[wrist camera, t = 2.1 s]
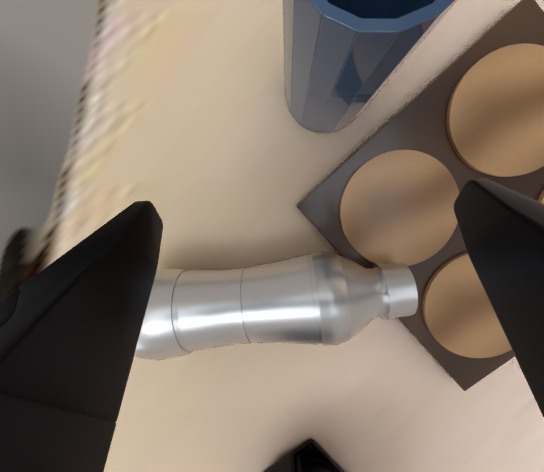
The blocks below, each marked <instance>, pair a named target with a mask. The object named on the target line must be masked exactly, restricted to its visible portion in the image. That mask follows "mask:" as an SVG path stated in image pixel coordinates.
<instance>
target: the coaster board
mask: <svg viewBox="0 0 544 472" xmlns="http://www.w3.org/2000/svg"><path fill="white" fill-rule="evenodd" d="M480 178H485V179H489V180H491V181H493V182H496V183H498V184H500V185H502V186H505V187H507V188H509V189H511V190H514V191H516V192H518V193H520V194H522V195H525V196H527V197H529V198H531V199H534V200H536V201H538V202H540V203H543V204H544V12H543V10H542V9H541V8H540V7H539V5H538V4H537V3H536V1H535V0H521V1H520V2H518V3H517V4H516V5H515V6H514V7H512V8H511V9H510V10H509V11H508V12H507V13H506V14H505V15H504V16H502V17H501V18H500V19H499V20H498V21H497V22H496V23H495V24H494V25H493V26H491V27H490V28H489V29H488V30H487V31H486V32H485V33H484V34H483V35H482V36H481V37H479V38H478V39H477V40H476V41H475V42H474V43H473V44H472V45H471V46H470V47H468V48H467V49H466V50H465V51H464V52H463V53H462V54H461V55H460V56H459V57H458V58H456V59H455V60H454V61H453V62H452V63H451V64H450V65H449V66H448V67H447V68H445V69H444V70H443V71H442V72H441V73H440V74H439V75H438V76H437V77H436V78H435V79H433V80H432V81H431V82H430V83H429V84H428V85H427V86H426V87H425V88H424V89H422V90H421V91H420V92H419V93H418V94H417V95H416V96H415V97H414V98H413V99H412V100H410V101H409V102H408V103H407V104H406V105H405V106H404V107H403V108H402V109H401V110H399V111H398V112H397V113H396V114H395V115H394V116H393V117H392V118H391V119H390V120H389V121H387V122H386V123H385V124H384V125H383V126H382V127H381V128H380V129H379V130H378V131H376V132H375V133H374V134H373V135H372V136H371V137H370V138H369V139H368V140H367V141H366V142H364V143H363V144H362V145H361V146H360V147H359V148H358V149H357V150H356V151H355V152H353V153H352V154H351V155H350V156H349V157H348V158H347V159H346V160H345V161H344V162H343V163H341V164H340V165H339V166H338V167H337V168H336V169H335V170H334V171H333V172H332V173H330V174H329V175H328V176H327V177H326V178H325V179H324V180H323V181H322V182H321V183H320V184H318V185H317V186H316V187H315V188H314V189H313V190H312V191H311V192H310V193H309V194H307V195H306V196H305V197H304V198H303V199H302V200H301V201H300V202H299V203H298V204H297V205H296V206H297V207H298V208H299V209H300V210H301V212H302V213H303V214H304V215H305V216H306V217H307V218H308V219H309V220H310V221H311V223H312V224H313V225H314V226H315V227H316V228H317V229H318V230H319V231H320V232H321V234H322V235H323V236H324V237H325V238H326V239H327V240H328V241H329V242H330V244H331V245H332V246H333V247H334V248H335V249H336V250H337V251H338V252H339V253H340V255H341V256H343V257H345V258H347V259H350V260H352V261H353V262H355V263H357V264H359V265H361V266H363V267H364V268H369V269H372V266H373V265H374V264H378V263H383V264H390V263H398V262H399V263H404V264H406V265H407V266H408V267H409V269H410V270H411V272H412V274H413V277H414V280H415V283H416V287H417V293H418V307H417V311H416V313H415V314H414V315H411V316H405V317H398V319H399V320H400V321H401V322H402V323H403V324H404V325H405V326H406V327H407V329H408V330H409V331H410V332H411V333H412V334H413V335H414V336H415V337H416V338H417V340H418V341H419V342H420V343H421V344H422V345H423V346H424V347H425V348H426V349H427V351H428V352H429V353H430V354H431V355H432V356H433V357H434V358H435V359H436V361H437V362H438V363H439V364H440V365H441V366H442V367H443V368H444V369H445V370H446V372H447V373H448V374H449V375H450V376H451V377H452V378H453V379H454V380H455V381H456V383H457V384H458V385H459V386H460V387H461V388H462V389H463V390H464V391H466V390H467V389H468V388H470V387H471V386H473V385H474V384H476V383H477V382H479V381H480V380H481V379H483V378H484V377H486V376H487V375H489V374H490V373H491V372H493V371H494V370H496V369H497V368H499V367H500V366H501V365H503V364H504V363H506V362H507V361H509V360H510V359H512V358H513V357H514V356H515V355H514V353H513V350H512V348H511V346H510V344H509V342H508V340H507V338H506V335H505V333H504V331H503V329H502V327H501V325H500V322H499V320H498V318H497V316H496V314H495V312H494V310H493V307H492V305H491V303H490V301H489V299H488V297H487V295H486V292H485V290H484V288H483V286H482V284H481V282H480V280H479V277H478V275H477V273H476V271H475V269H474V267H473V264H472V262H471V260H470V258H469V255H468V252H467V250H466V247H465V244H464V241H463V238H462V234H461V231H460V228H459V225H458V222H457V219H456V216H455V213H454V202H455V200H456V198H457V196H458V195H459V193H460V191H461V189H462V188H463V186H464V184H465V183H466V182H467V181H468V180H470V179H480Z"/></svg>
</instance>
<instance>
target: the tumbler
mask: <svg viewBox="0 0 544 472" xmlns="http://www.w3.org/2000/svg"><path fill="white" fill-rule="evenodd" d="M457 1H458V0H283V33H284V74H285V96H286V102H287V106H288V108H289V111H290V113H291V114H292V116H293V117H294V119H295V120H296V121H297V122H298V123H299V124H300V125H301V126H303V127H304V128H306V129H308V130H310V131H313V132H318V133H330V132H335V131H338V130H340V129H342V128H344V127H346V126H347V125H348V124H350V123H351V122H352V121H353V120H354V119H355V118H356V117H357V116H358V115H359V114H360V113H361V112H362V111H363V109H364V108H365V107H366V106H367V105H368V104H369V103H370V101H371V100H372V99H373V98H374V97H375V96H376V94H377V93H378V92H379V91H380V90H381V89H382V87H383V86H384V85H385V84H386V83H387V82H388V81H389V79H390V78H391V77H392V76H393V75H394V74H395V72H396V71H397V70H398V69H399V68H400V67H401V65H402V64H403V63H404V62H405V61H406V60H407V59H408V57H409V56H410V55H411V54H412V53H413V52H414V50H415V49H416V48H417V47H418V46H419V45H420V43H421V42H422V41H423V40H424V39H425V38H426V37H427V35H428V34H429V33H430V32H431V31H432V30H433V28H434V27H435V26H436V25H437V24H438V23H439V21H440V20H441V19H442V18H443V17H444V16H445V14H446V13H447V12H448V11H449V10H450V9H451V8H452V6H453V5H454V4H455V3H456V2H457Z"/></svg>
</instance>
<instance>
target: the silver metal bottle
mask: <svg viewBox="0 0 544 472" xmlns="http://www.w3.org/2000/svg"><path fill="white" fill-rule="evenodd" d="M417 307H418V293H417V287H416V283H415V280H414V277H413V274H412V272H411V270H410V269H409V267H408V266H407V265H406V264H404V263H399V262H398V263H390V264H383V263H378V264H374V265H373V266H372V269H369V268H364V267H363V266H361V265H359V264H357V263H355V262H353V261H352V260H350V259H347V258H345V257H343V256H340V255H338V254H335V253H329V252H323V251H322V252H317V253H311V254H310V255H303V256H299V257H295V258H291V259H287V260H283V261H278V262H274V263H269V264H263V265H256V266H252V267H251V268H246V267H243V268H237V269H220V270H188V269H179V268H157V271H156V275H155V279H154V283H153V287H152V290H151V294H150V298H149V302H148V305H147V309H146V313H145V317H144V320H143V324H142V328H141V332H140V335H139V339H138V343H137V347H136V350H135V354H134V356H135V357H138V358H142V359H152V360H164V359H169V358H174V357H178V356H182V355H186V354H189V353H192V352H193V351H198V350H204V349H210V348H216V347H221V346H227V345H233V344H245V343H253V342H258V343H278V342H280V343H296V344H311V345H318V344H322V345H338V344H341V343H343V342H346V341H348V340H350V339H351V338H352V337H354V336H355V335H356V334H358V333H359V332H360V331H361V330H362V329H363V328H364V327H365V326H366V325H367V324H368V323H369V322H370V321H371V320H372V319H373V318H375V317H377V316H381V318H382V319H383V320H390V319H393V318H395V317H405V316H411V315H414V314H415V313H416V311H417Z"/></svg>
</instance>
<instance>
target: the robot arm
mask: <svg viewBox="0 0 544 472" xmlns="http://www.w3.org/2000/svg"><path fill="white" fill-rule="evenodd" d="M454 213H455V216H456V219H457V222H458V225H459V228H460V231H461V234H462V238H463V241H464V244H465V247H466V250H467V252H468V255H469V258H470V260H471V262H472V264H473V267H474V269H475V271H476V273H477V275H478V277H479V280H480V282H481V284H482V286H483V288H484V290H485V292H486V295H487V297H488V299H489V301H490V303H491V305H492V307H493V310H494V312H495V314H496V316H497V318H498V320H499V322H500V325H501V327H502V329H503V331H504V333H505V335H506V338H507V340H508V342H509V344H510V346H511V348H512V350H513V353H514V355H515V357H516V359H517V361H518V363H519V365H520V368H521V370H522V372H523V374H524V376H525V378H526V380H527V383H528V385H529V387H530V389H531V391H532V393H533V395H534V398H535V400H536V402H537V404H538V406H539V408H540V411H541V413H542V415H543V417H544V204H543V203H540V202H538V201H536V200H534V199H531V198H529V197H527V196H525V195H522V194H520V193H518V192H516V191H514V190H511V189H509V188H507V187H505V186H502V185H500V184H498V183H496V182H493V181H491V180H489V179H485V178H480V179H470V180H468V181H467V182H466V183H465V184H464V186H463V188H462V189H461V191H460V193H459V195H458V196H457V198H456V200H455V202H454ZM162 230H163V223H162V220H161V218H160V216H159V214H158V213H157V211H156V209H155V207H154V205H153V204H152V203H151V202H150V201H137V202H134V203H133V204H132V205H130V206H129V207H127V208H126V209H125V210H123V211H122V212H121V213H119V214H118V215H117V216H115V217H114V218H113V219H111V220H110V221H109V222H107V223H106V224H104V225H103V226H102V227H100V228H99V229H98V230H96V231H95V232H94V233H92V234H91V235H90V236H88V237H87V238H86V239H84V240H83V241H81V242H80V243H79V244H77V245H76V246H75V247H73V248H72V249H71V250H69V251H68V252H67V253H65V254H64V255H63V256H61V257H60V258H58V259H57V260H56V261H54V262H53V263H52V264H50V265H49V266H48V267H46V268H45V269H44V270H42V271H41V272H40V273H38V274H37V275H35V276H34V277H33V278H31V279H30V280H29V281H27V282H26V283H25V284H23V285H22V286H21V288H19V289H16V290H15V291H14V292H12V293H11V294H10V295H8V296H7V297H6V298H4V299H3V300H2V301H0V472H103V471H104V467H105V463H106V460H107V456H108V452H109V448H110V445H111V441H112V437H113V434H114V430H115V426H116V423H115V422H116V421H117V418H118V414H119V410H120V406H121V403H122V399H123V395H124V391H125V388H126V384H127V380H128V376H129V373H130V369H131V365H132V362H133V358H134V354H135V350H136V347H137V343H138V339H139V335H140V332H141V328H142V324H143V320H144V317H145V313H146V309H147V305H148V302H149V298H150V294H151V290H152V287H153V283H154V279H155V275H156V271H157V265H158V259H159V252H160V245H161V238H162ZM309 446H312V447H309ZM265 472H344V471H343V470H342V469H341V468H340V467H339V466H338V465H337V464H336V463H335V461H334V460H333V459H332V458H331V457H330V456H329V455H328V454H327V453H326V452H325V451H324V450H323V449H322V448H321V447H320V446H319V445H318V444H317V443H316V442H315V441H314V440H307V441H306V442H304V443H303V444H302V445H300V446H299V447H297V448H296V449H295V450H293V451H292V452H291V453H289V454H288V455H287V456H285V457H284V458H283V459H281V460H280V461H279V462H277V463H276V464H275V465H273V466H272V467H270V468H269V469H268V470H266V471H265Z"/></svg>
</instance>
